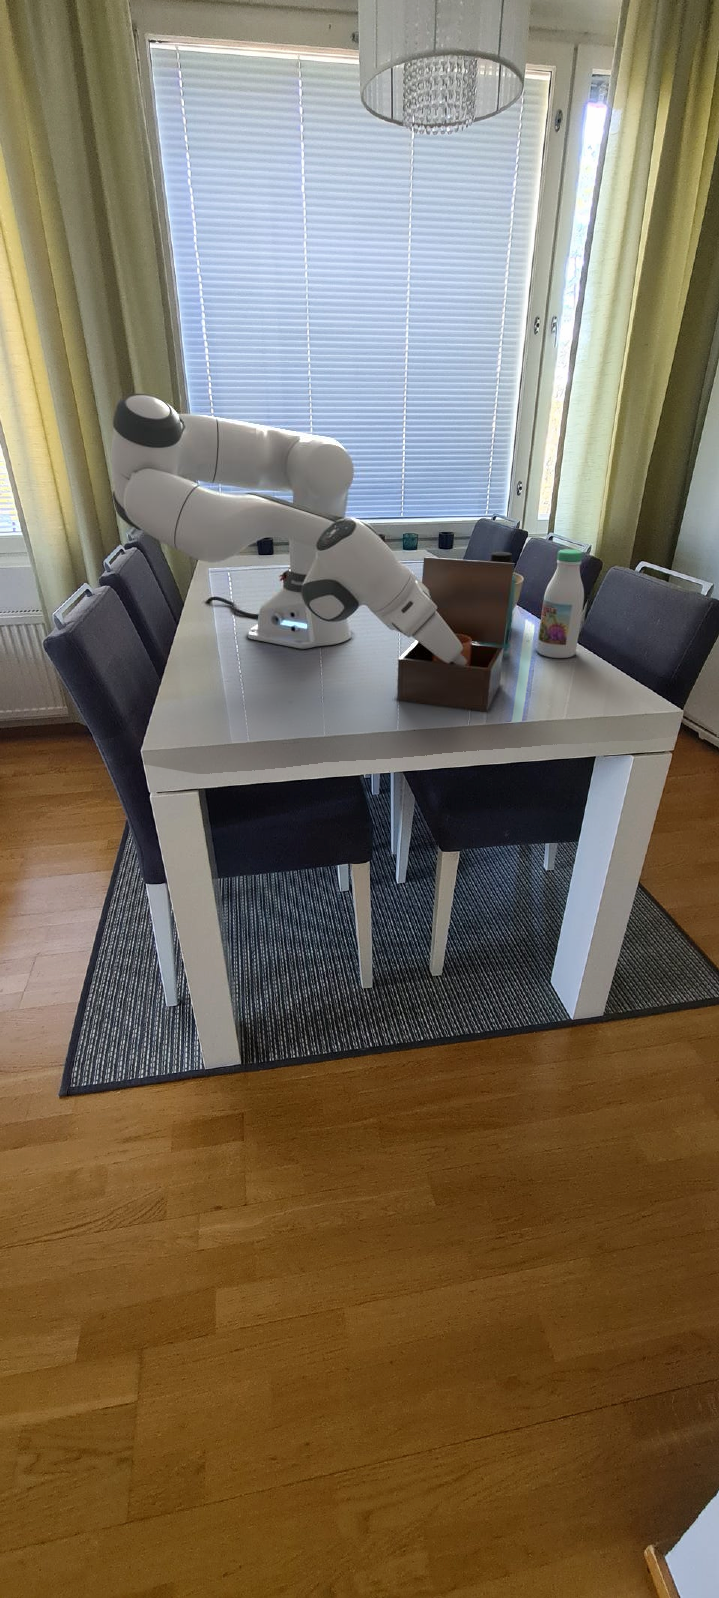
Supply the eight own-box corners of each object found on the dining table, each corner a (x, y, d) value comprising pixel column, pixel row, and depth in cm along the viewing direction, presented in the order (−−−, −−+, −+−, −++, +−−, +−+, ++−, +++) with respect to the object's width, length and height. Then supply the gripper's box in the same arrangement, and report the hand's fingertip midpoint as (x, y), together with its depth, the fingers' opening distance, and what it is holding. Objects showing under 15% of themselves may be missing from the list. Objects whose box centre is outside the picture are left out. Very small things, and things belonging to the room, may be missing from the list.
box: (486, 711, 115) (490, 669, 112) (397, 699, 120) (398, 658, 116) (499, 685, 126) (503, 646, 122) (416, 675, 130) (418, 637, 126)
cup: (427, 684, 119) (429, 642, 116) (436, 672, 125) (438, 631, 121) (464, 689, 118) (467, 646, 114) (471, 677, 123) (475, 635, 119)
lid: (513, 563, 116) (517, 562, 120) (423, 557, 121) (430, 556, 125) (503, 644, 121) (507, 640, 125) (417, 635, 126) (423, 632, 130)
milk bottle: (557, 645, 146) (572, 545, 136) (583, 655, 140) (600, 552, 130) (528, 650, 143) (541, 549, 133) (553, 661, 137) (569, 556, 127)
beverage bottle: (508, 661, 137) (520, 556, 127) (474, 659, 138) (483, 555, 128) (509, 651, 143) (520, 549, 133) (476, 649, 144) (485, 548, 134)
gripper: (373, 601, 122) (423, 651, 129) (405, 634, 105) (461, 690, 111) (398, 573, 120) (448, 626, 127) (435, 603, 103) (490, 662, 110)
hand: (454, 656), depth 119 cm, fingers closed on cup, 6 cm apart
